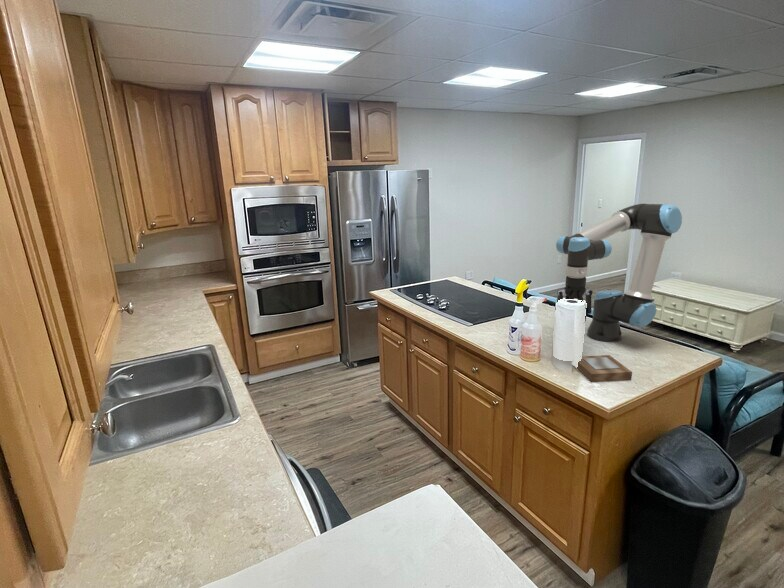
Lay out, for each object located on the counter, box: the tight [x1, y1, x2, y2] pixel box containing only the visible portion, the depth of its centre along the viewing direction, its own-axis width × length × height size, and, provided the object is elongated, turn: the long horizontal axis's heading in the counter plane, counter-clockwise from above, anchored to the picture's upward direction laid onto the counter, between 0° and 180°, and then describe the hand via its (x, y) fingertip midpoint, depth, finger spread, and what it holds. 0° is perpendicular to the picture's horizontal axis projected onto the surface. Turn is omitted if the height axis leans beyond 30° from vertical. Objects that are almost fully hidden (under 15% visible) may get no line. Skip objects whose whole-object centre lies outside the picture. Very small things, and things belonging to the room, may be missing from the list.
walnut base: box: [576, 354, 633, 383], centre depth 169 cm, size 16×16×4 cm
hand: (571, 329), depth 175 cm, fingers closed on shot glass, 7 cm apart
